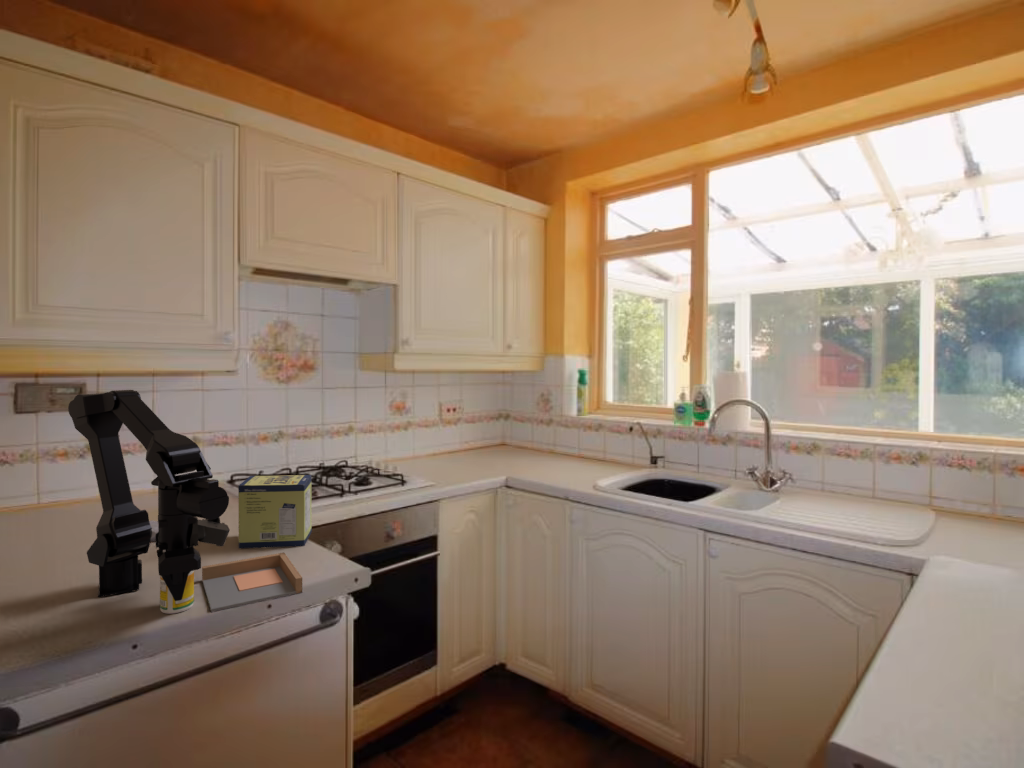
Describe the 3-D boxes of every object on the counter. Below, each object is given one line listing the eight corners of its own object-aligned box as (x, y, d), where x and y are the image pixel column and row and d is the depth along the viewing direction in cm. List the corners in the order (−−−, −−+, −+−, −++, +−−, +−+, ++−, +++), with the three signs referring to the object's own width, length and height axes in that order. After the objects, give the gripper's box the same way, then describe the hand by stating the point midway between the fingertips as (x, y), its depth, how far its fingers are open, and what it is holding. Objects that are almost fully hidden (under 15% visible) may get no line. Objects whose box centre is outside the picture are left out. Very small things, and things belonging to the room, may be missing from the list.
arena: (211, 611, 101) (211, 595, 101) (202, 580, 114) (202, 566, 114) (302, 592, 110) (302, 577, 110) (284, 565, 123) (284, 552, 123)
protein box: (249, 534, 143) (249, 475, 142) (312, 532, 146) (312, 474, 145) (236, 549, 132) (237, 485, 131) (305, 546, 135) (305, 483, 134)
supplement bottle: (154, 614, 99) (153, 562, 99) (169, 601, 104) (169, 551, 104) (185, 614, 100) (185, 562, 99) (199, 600, 105) (199, 551, 104)
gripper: (233, 518, 98) (233, 603, 99) (219, 494, 113) (219, 568, 114) (158, 527, 92) (159, 619, 93) (155, 501, 107) (155, 579, 108)
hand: (177, 594), depth 102 cm, fingers closed on supplement bottle, 5 cm apart
